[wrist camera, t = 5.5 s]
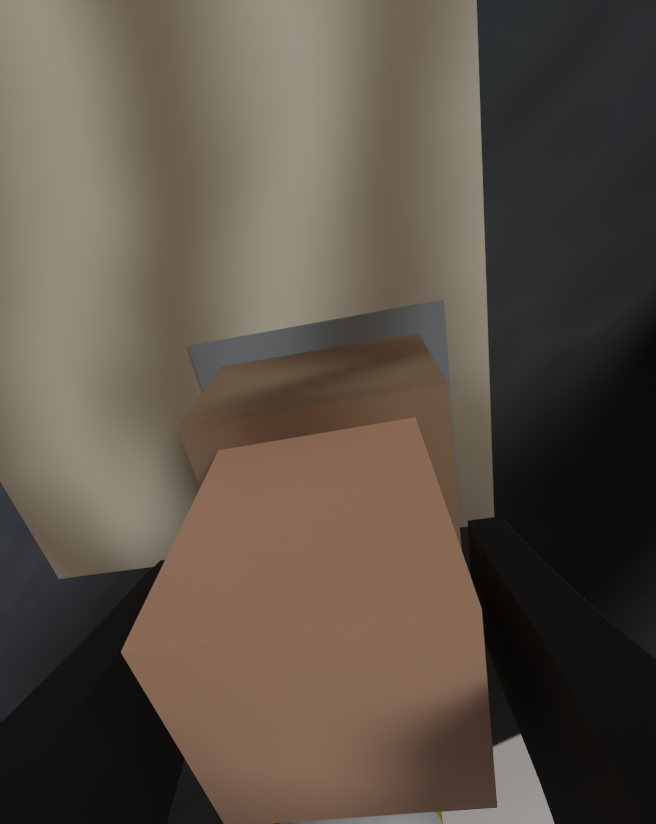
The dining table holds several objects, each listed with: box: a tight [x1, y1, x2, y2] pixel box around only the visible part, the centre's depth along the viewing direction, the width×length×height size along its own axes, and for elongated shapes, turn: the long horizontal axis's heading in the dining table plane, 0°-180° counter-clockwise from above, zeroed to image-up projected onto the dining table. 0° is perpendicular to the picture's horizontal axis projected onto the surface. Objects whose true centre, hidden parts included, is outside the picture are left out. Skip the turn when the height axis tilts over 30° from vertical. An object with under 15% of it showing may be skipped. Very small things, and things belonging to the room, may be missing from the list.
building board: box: [0, 0, 494, 579], centre depth 14 cm, size 17×17×1 cm
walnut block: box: [177, 333, 461, 547], centre depth 13 cm, size 6×6×4 cm
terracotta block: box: [121, 417, 497, 824], centre depth 9 cm, size 4×4×5 cm
